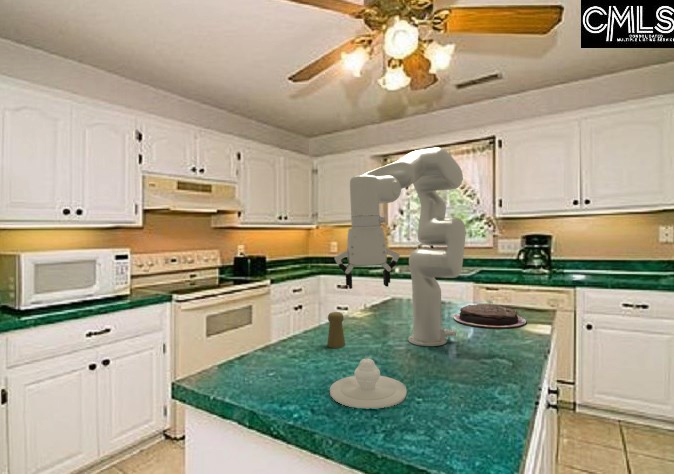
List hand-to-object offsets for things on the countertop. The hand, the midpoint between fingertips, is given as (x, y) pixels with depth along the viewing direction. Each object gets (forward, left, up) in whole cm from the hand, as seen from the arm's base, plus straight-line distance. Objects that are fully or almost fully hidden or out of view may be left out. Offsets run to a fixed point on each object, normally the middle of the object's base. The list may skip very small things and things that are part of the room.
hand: (368, 286), depth 108 cm
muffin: (+2, +12, -22) cm, 26 cm away
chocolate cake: (-57, -54, -24) cm, 82 cm away
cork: (+7, -28, -24) cm, 37 cm away
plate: (+2, +12, -23) cm, 27 cm away
